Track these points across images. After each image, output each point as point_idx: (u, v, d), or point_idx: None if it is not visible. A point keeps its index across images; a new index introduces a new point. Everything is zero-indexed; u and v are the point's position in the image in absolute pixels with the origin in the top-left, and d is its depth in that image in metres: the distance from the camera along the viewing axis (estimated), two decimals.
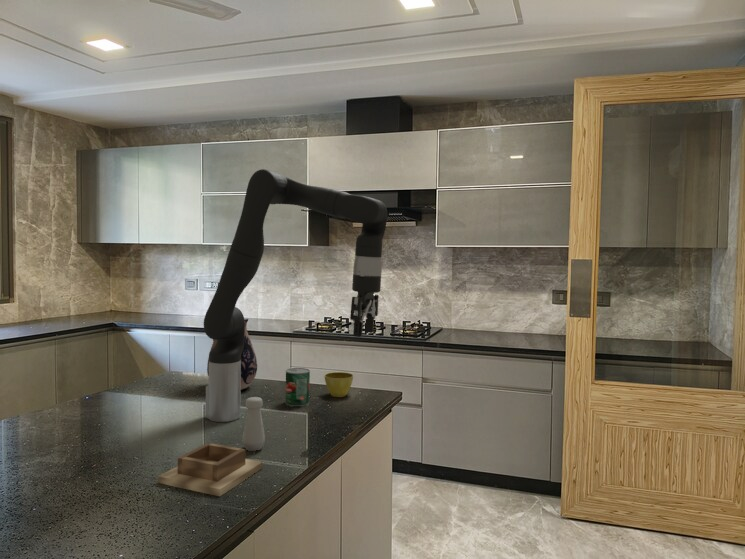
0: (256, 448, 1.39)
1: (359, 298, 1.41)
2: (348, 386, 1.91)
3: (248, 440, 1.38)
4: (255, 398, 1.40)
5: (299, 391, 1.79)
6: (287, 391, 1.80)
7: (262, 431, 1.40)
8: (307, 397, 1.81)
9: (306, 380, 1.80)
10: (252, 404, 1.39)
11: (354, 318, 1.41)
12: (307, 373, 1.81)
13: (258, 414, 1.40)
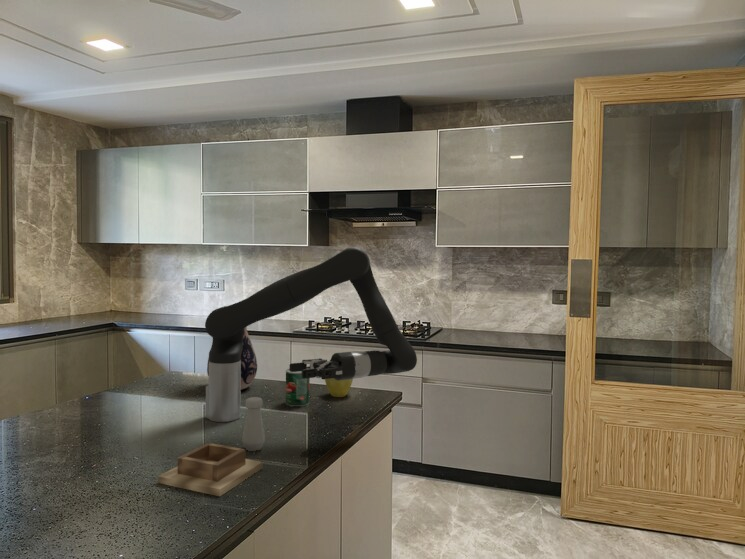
0: (256, 448, 1.39)
1: (341, 375, 1.45)
2: (348, 386, 1.91)
3: (248, 440, 1.38)
4: (255, 398, 1.40)
5: (299, 391, 1.79)
6: (287, 391, 1.80)
7: (262, 431, 1.40)
8: (307, 397, 1.81)
9: (306, 380, 1.80)
10: (252, 404, 1.38)
11: (324, 374, 1.42)
12: None
13: (258, 414, 1.40)
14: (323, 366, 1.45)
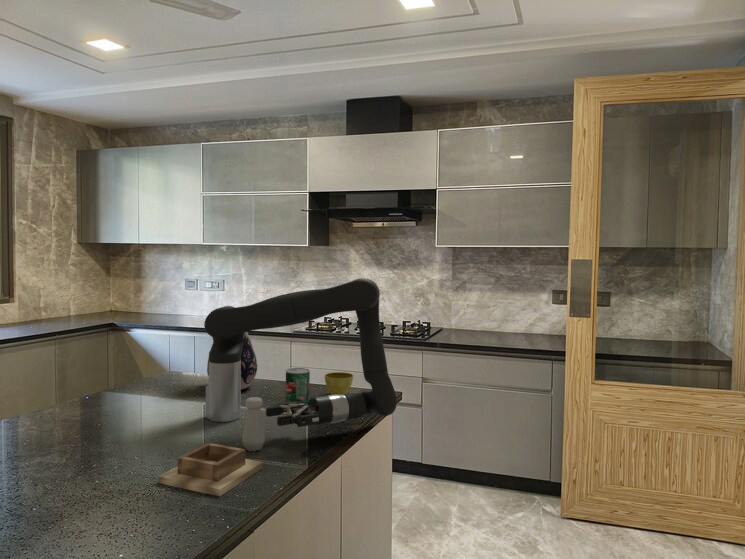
0: (256, 448, 1.39)
1: (318, 422, 1.43)
2: (348, 386, 1.91)
3: (248, 440, 1.38)
4: (255, 398, 1.40)
5: (299, 391, 1.79)
6: (287, 391, 1.80)
7: (262, 431, 1.40)
8: (307, 397, 1.81)
9: (306, 380, 1.80)
10: (252, 404, 1.39)
11: (300, 421, 1.40)
12: (307, 373, 1.81)
13: (258, 414, 1.40)
14: (299, 412, 1.43)
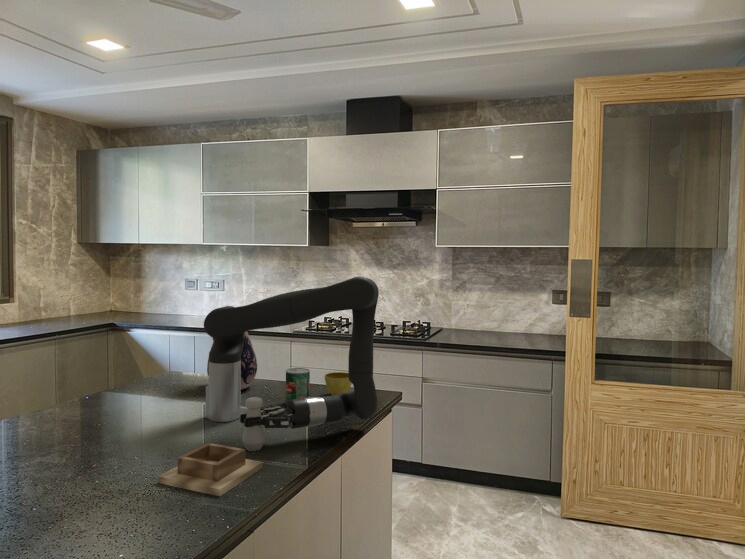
0: (256, 448, 1.39)
1: (287, 426, 1.38)
2: (348, 386, 1.91)
3: (248, 440, 1.38)
4: (255, 398, 1.40)
5: (299, 391, 1.79)
6: (287, 391, 1.80)
7: (262, 431, 1.40)
8: (307, 397, 1.81)
9: (306, 380, 1.80)
10: (252, 404, 1.39)
11: (267, 423, 1.38)
12: (307, 373, 1.81)
13: (258, 414, 1.40)
14: (269, 414, 1.40)
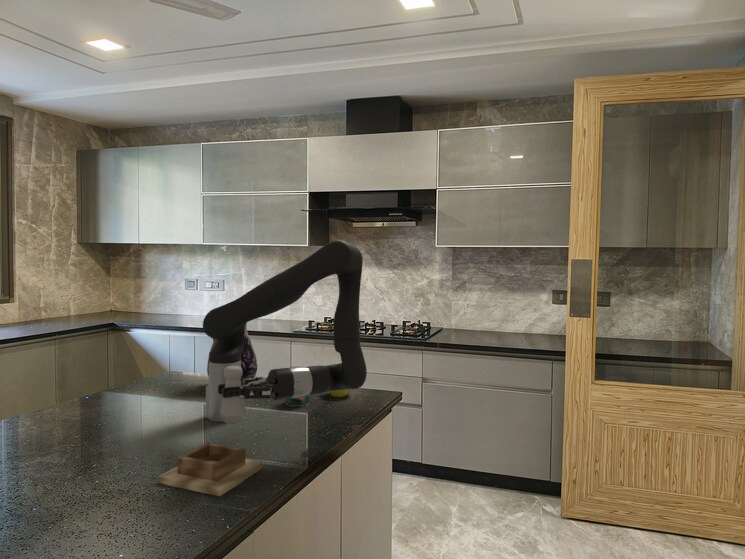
0: (236, 421, 1.28)
1: (269, 396, 1.28)
2: None
3: (226, 412, 1.27)
4: (234, 367, 1.29)
5: None
6: None
7: (242, 402, 1.29)
8: (307, 397, 1.81)
9: None
10: (230, 373, 1.28)
11: (247, 393, 1.27)
12: None
13: (237, 384, 1.29)
14: (249, 384, 1.29)
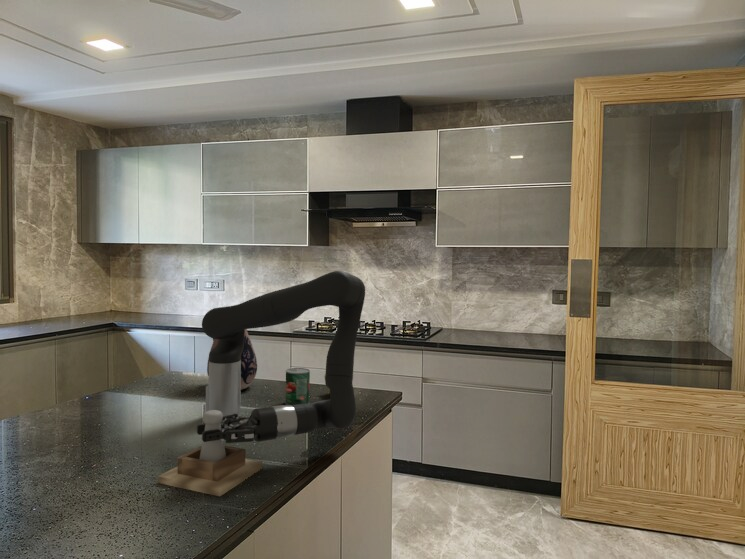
0: None
1: (252, 439, 1.21)
2: None
3: (205, 460, 1.21)
4: (214, 412, 1.23)
5: (299, 391, 1.79)
6: (287, 391, 1.80)
7: (222, 449, 1.23)
8: (307, 397, 1.81)
9: (306, 380, 1.80)
10: (209, 419, 1.21)
11: (228, 437, 1.20)
12: (307, 373, 1.81)
13: None
14: (231, 426, 1.23)
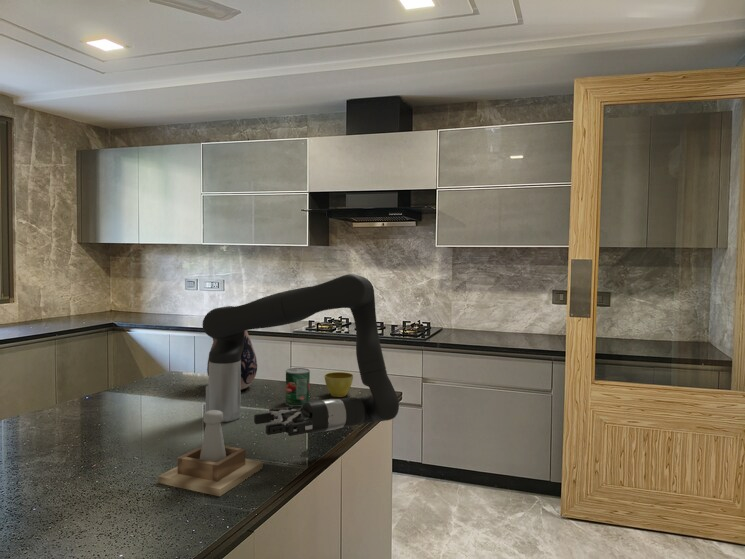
0: None
1: (311, 430, 1.28)
2: (348, 386, 1.91)
3: (205, 460, 1.21)
4: (214, 411, 1.23)
5: (299, 391, 1.79)
6: (287, 391, 1.80)
7: (222, 449, 1.23)
8: (307, 397, 1.81)
9: (306, 380, 1.80)
10: (210, 419, 1.21)
11: (291, 430, 1.25)
12: (307, 373, 1.81)
13: (217, 430, 1.23)
14: (291, 419, 1.28)
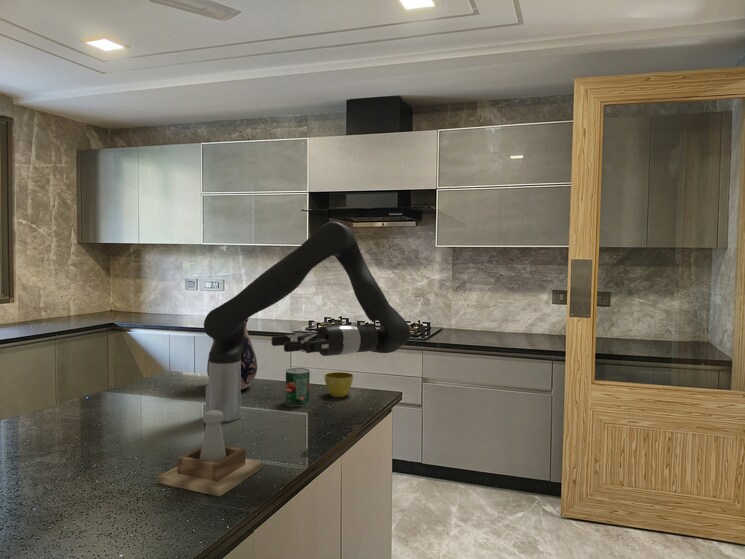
0: None
1: (327, 349, 1.33)
2: (348, 386, 1.91)
3: (205, 460, 1.21)
4: (214, 411, 1.23)
5: (299, 391, 1.79)
6: (287, 391, 1.80)
7: (222, 449, 1.23)
8: (307, 397, 1.81)
9: (306, 380, 1.80)
10: (210, 419, 1.21)
11: (308, 347, 1.30)
12: (307, 373, 1.81)
13: (217, 430, 1.23)
14: (308, 339, 1.33)
